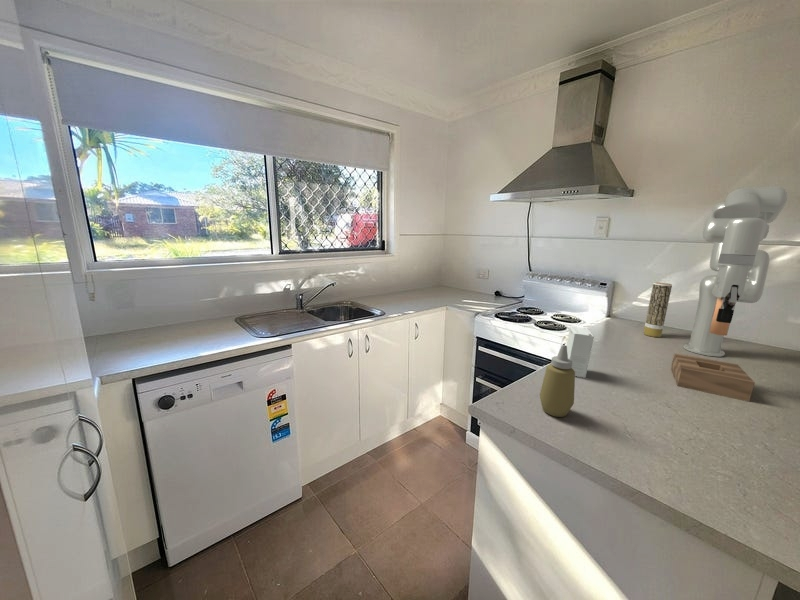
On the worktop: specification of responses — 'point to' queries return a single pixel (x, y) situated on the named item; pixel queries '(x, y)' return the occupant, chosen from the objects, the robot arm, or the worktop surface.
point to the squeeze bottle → (558, 385)
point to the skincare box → (579, 349)
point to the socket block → (711, 376)
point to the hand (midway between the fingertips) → (721, 320)
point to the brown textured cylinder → (657, 309)
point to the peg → (719, 327)
